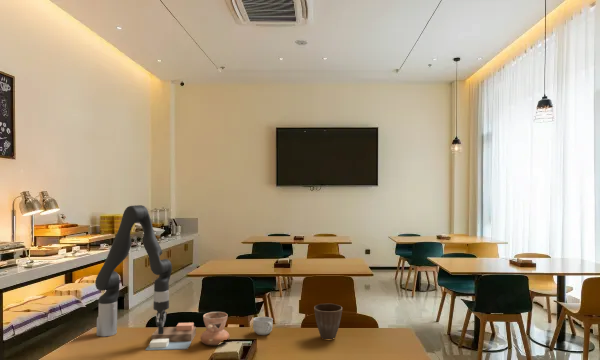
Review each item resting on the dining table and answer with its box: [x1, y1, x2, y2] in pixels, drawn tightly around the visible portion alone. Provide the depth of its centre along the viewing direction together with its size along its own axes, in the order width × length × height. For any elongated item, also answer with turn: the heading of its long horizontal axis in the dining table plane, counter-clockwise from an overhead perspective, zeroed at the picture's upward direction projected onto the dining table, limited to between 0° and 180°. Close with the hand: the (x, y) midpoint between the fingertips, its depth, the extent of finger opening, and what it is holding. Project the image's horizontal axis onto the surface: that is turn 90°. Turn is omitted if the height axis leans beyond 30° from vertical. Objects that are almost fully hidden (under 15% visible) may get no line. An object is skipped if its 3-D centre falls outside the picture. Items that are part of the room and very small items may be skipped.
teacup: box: [252, 316, 274, 336], centre depth 220 cm, size 14×11×8 cm
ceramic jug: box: [200, 311, 230, 346], centre depth 207 cm, size 18×14×14 cm
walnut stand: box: [151, 326, 197, 343], centre depth 213 cm, size 20×12×4 cm, turn 94°
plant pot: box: [313, 303, 343, 340], centre depth 214 cm, size 15×15×16 cm
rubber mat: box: [145, 341, 192, 351], centre depth 202 cm, size 20×10×1 cm, turn 94°
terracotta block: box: [175, 322, 195, 331], centre depth 216 cm, size 8×5×2 cm, turn 94°
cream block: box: [149, 338, 169, 348], centre depth 201 cm, size 8×5×2 cm, turn 94°
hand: (160, 333), depth 205 cm, fingers closed
